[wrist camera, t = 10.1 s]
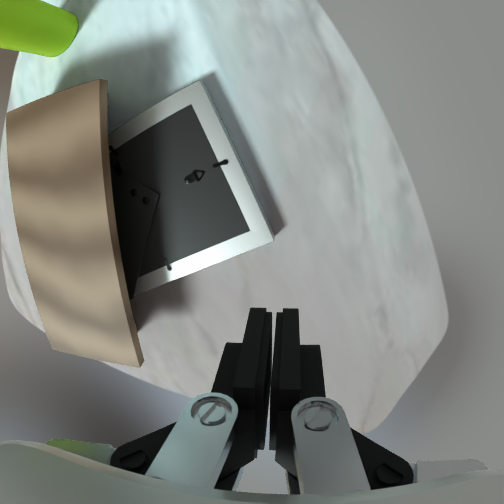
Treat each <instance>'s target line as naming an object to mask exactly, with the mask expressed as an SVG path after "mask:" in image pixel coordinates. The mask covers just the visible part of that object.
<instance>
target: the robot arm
mask: <svg viewBox="0 0 504 504" xmlns="http://www.w3.org/2000/svg"><path fill="white" fill-rule="evenodd" d="M271 374H272V377H271ZM270 386H271V390H270ZM269 397H270V441H269V450H276V455H275V461H276V462H277V463H279V464H280V465H281V466H282V467H283V468H285V469H286V481H287V489H288V495H287V494H286V495H284V494H261V493H247V492H236V489H237V487H238V484H239V481H240V479H241V476H242V473H243V468H244V466H245V465H246V464H248V463H249V462H251V461H253V460H254V458H257V451H258V449H261V450H264V446H265V437H266V427H267V417H268V407H269ZM0 504H504V469H487V467H486V466H485V465H484V464H483V463H482V462H480V461H478V460H471V459H469V460H450V461H417V463H416V464H409V463H408V462H407V461H405V460H404V459H403V458H401V457H399V456H397V455H395V454H394V453H392V452H390V451H389V450H387V449H385V448H383V447H382V446H380V445H378V444H377V443H375V442H373V441H372V440H370V439H368V438H367V437H365V436H363V435H362V434H360V433H358V432H357V431H355V430H354V429H352V428H350V426H349V423H348V420H347V418H346V415H345V412H344V410H343V408H342V407H341V406H340V405H339V404H338V403H337V402H336V401H334V400H331V399H329V398H326V396H325V386H324V376H323V367H322V358H321V350H320V345H300V337H299V311H298V309H289V308H283V312H277V316H276V329H275V342H274V354H273V365H272V312H266V308H250V312H249V316H248V321H247V325H246V330H245V334H244V338H243V343H229V342H227V343H226V345H225V348H224V351H223V354H222V358H221V361H220V364H219V368H218V371H217V374H216V378H215V381H214V384H213V388H212V391H211V393H204V394H201V395H198V396H196V397H195V398H193V399H192V400H191V401H190V402H189V403H188V404H187V406H186V408H185V409H184V411H183V413H182V414H181V416H180V418H179V419H178V421H177V422H175V423H173V424H171V425H168V426H167V427H164V428H162V429H159V430H157V431H155V432H153V433H150V434H148V435H145V436H143V437H141V438H138V439H136V440H134V441H131V442H128V443H126V444H124V445H122V446H120V447H118V448H113V447H112V446H111V445H107V444H96V443H88V442H80V441H72V440H66V439H53V440H51V441H48V442H47V443H46V444H40V443H35V442H28V441H16V440H15V441H4V442H0Z"/></svg>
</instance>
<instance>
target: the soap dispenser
mask: <svg viewBox="0 0 504 504" xmlns="http://www.w3.org/2000/svg"><path fill="white" fill-rule="evenodd" d="M77 29H78V20H77V17H76V16H75V15H74V14H72V13H70V12H68V11H65V10H63V9H61V8H58V7H56V6H54V5H51V4H49V3H46V2H44V1H41V0H0V48H4V49H11V50H17V51H22V52H27V53H32V54H37V55H42V56H47V57H55V56H58V55H60V54H61V53H63V52H64V51H65V50H66V49H67V48H68V47H69V46H70V44H71V43H72V41H73V40H74V38H75V36H76V33H77Z"/></svg>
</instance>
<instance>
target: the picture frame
mask: <svg viewBox="0 0 504 504" xmlns="http://www.w3.org/2000/svg"><path fill="white" fill-rule="evenodd" d="M108 144H109V160H110V173H111V184H112V194H113V203H114V211H115V219H116V226H117V233H118V240H119V246H120V253H121V259H122V264H123V270H124V275H125V281H126V286H127V291H128V295H129V300H130V299H132V298H134V296H135V295H137V294H140V293H142V292H145V291H147V290H150V289H152V288H155V287H158V286H160V285H163V284H165V283H168V282H170V281H173V280H175V279H178V278H180V277H183V276H186V275H188V274H191V273H193V272H196V271H198V270H201V269H203V268H206V267H208V266H211V265H214V264H216V263H219V262H221V261H224V260H226V259H229V258H231V257H234V256H237V255H239V254H242V253H244V252H247V251H249V250H252V249H254V248H257V247H260V246H262V245H265V244H267V243H270V242H272V241H274V238H275V235H274V233H273V231H272V228H271V226H270V224H269V222H268V219H267V217H266V215H265V213H264V211H263V208H262V206H261V204H260V202H259V199H258V197H257V195H256V193H255V191H254V188H253V186H252V184H251V182H250V180H249V177H248V175H247V173H246V171H245V169H244V166H243V164H242V162H241V160H240V158H239V156H238V153H237V151H236V149H235V147H234V145H233V143H232V140H231V138H230V136H229V134H228V132H227V130H226V128H225V126H224V123H223V121H222V119H221V117H220V115H219V113H218V111H217V109H216V107H215V105H214V102H213V100H212V98H211V96H210V94H209V92H208V90H207V88H206V86H205V84H204V82H202V81H201V80H199V81H197V82H195V83H193V84H191V85H189V86H187V87H185V88H184V89H182V90H180V91H178V92H176V93H174V94H173V95H171V96H169V97H167V98H166V99H164V100H162V101H160V102H159V103H157V104H155V105H154V106H152V107H150V108H149V109H147V110H145V111H144V112H142V113H141V114H139V115H137V116H136V117H134V118H133V119H131V120H130V121H128V122H127V123H125V124H123V125H122V126H120V127H119V128H117V129H116V130H115V131H113V132H112V133H110V134H109V135H108Z"/></svg>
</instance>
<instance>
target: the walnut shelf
mask: <svg viewBox="0 0 504 504" xmlns="http://www.w3.org/2000/svg"><path fill="white" fill-rule="evenodd" d="M107 108H108V94H107V81H105V80H101V79H98V80H94V81H91V82H88V83H84V84H81V85H78V86H75V87H72V88H69V89H66V90H63V91H60V92H57V93H54V94H51V95H49V96H46V97H43V98H41V99H38V100H36V101H33V102H31V103H28V104H26V105H24V106H21V107H19V108H17V109H14V110H12V111H10V112H8V113H6V134H7V155H8V168H9V178H10V187H11V195H12V202H13V209H14V215H15V221H16V226H17V232H18V237H19V242H20V246H21V251H22V255H23V259H24V263H25V267H26V271H27V275H28V279H29V282H30V286H31V289H32V293H33V296H34V299H35V302H36V306H37V309H38V312H39V315H40V318H41V321H42V323H43V326H44V329H45V332H46V334H47V337H48V340H49V342H50V345H51V347H52V349H53V350H57V351H61V352H65V353H69V354H74V355H78V356H82V357H87V358H92V359H96V360H101V361H106V362H111V363H116V364H122V365H127V366H133V367H139V368H140V367H141V365H142V363H143V362H144V358H143V354H142V350H141V347H140V343H139V339H138V335H137V333H138V331H137V327H136V323H135V322H134V318H133V314H132V309H131V305H130V300H129V295H128V291H127V286H126V281H125V275H124V270H123V264H122V259H121V253H120V246H119V240H118V233H117V226H116V219H115V211H114V203H113V194H112V184H111V173H110V160H109V144H108V122H107Z"/></svg>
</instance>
